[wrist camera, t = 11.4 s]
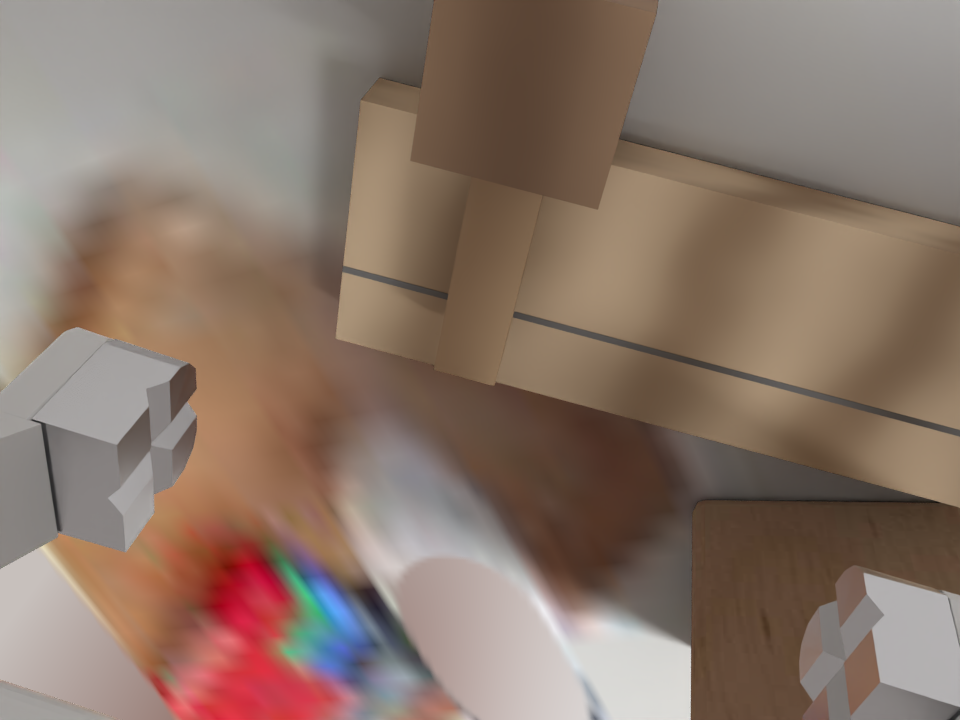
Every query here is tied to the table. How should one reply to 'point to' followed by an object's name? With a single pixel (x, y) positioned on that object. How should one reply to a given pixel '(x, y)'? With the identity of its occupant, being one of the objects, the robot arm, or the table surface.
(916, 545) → the wooden block
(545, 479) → the table surface
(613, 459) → the table surface
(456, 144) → the block
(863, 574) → the robot arm
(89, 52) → the table surface
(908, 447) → the board
